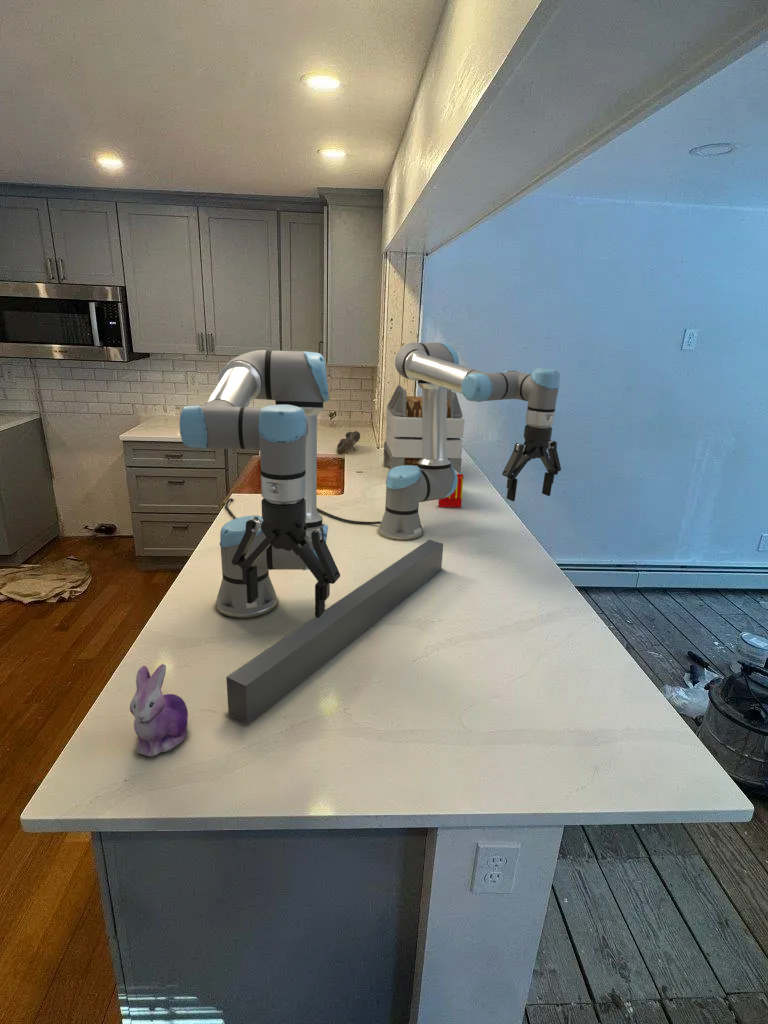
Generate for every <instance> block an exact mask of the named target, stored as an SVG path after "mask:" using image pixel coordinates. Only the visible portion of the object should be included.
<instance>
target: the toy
mask: <svg viewBox="0 0 768 1024" xmlns="http://www.w3.org/2000/svg"><path fill="white" fill-rule="evenodd" d="M455 473H457V486H456V489H455V491H454V492H453V493H452V494H451V495H450V496H448V497H445V498H442V499H438V508H462V502H463V501H462V500H463V490H464V474H463V473H461V474H459V473H458V472H457V471H456V470H455Z"/></svg>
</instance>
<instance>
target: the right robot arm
mask: <svg viewBox="0 0 768 1024" xmlns="http://www.w3.org/2000/svg"><path fill="white" fill-rule="evenodd" d="M394 357H395V358H394V367H395V370H396V371H397V373H398V374H399V375H400V376H401V377H403V378H404V379H408V380H410V381H414V382H415V381H416V382H417V385H418V386H419V387H420V388H421V397H422V459H421V460H420V461H419V462H418V466H413V465H403V466H397V467H394V468H392V469H391V470H390V469H389V470H388V472H387V475H386V479H385V504H384V505H385V507H384V508H385V509H384V513H383V515H382V519H381V520H380V521H379V520H378V521H377V520H376V521H364V520H363V521H361V520H352V519H346V518H343V517H339V516H337V515H334V514H331V513H329V512H328V511H327V512H326V511H325V510H322V509H320V508H318V507H317V512H318V513H321V514H323V515H325V516H328V517H330V518H333V519H335V520H338V521H341V522H345V523H350V524H358V525H378V533H379V534H380V535H381V536H382V537H385V538H387V539H389V540H395V541H410V540H415V539H418V538H420V537H421V536H422V535H423V525H422V524H421V518H420V515H419V507H420V506H419V505H420V503H424V502H429V501H435V500H439V499H442V498H445V497H448V496H450V495H451V494H452V493H453V492H454V491H455V489H456V486H457V473H455V469H454V468H453V467H452V466H451V462H450V461H449V460H448V459H447V457H446V452H447V389H449V390H451V391H452V392H453V391H454V392H455V393H458V394H461V395H463V397H464V399H465V400H467V401H469V402H477V403H482V402H488V401H489V402H490V401H502V400H519V401H525V402H527V407H526V408H527V409H526V415H525V424H526V425H525V426H524V430H523V438H524V442H523V443H519V442H515V444H514V447H513V451H512V453H511V455H510V456H509V459H508V461H507V463H506V465H505V467H504V469H503V471H502V473H501V475H502V476H503V477H505V478H507V481H506V489H507V492H506V499H507V500H509V501H511V502H516V496H517V495H516V494H517V487H518V480H519V479H517V477H518V475H519V474H520V473H521V471H522V470H523V469H524V468H525V466H526V465H527V463H528V462H530V461H531V460H535V459H540V461H541V462H542V464H543V465H544V468H545V470H546V472H544V476H543V482H542V490H541V494H543V495H545V496H547V497H550V496H551V494H552V493H551V492H552V487H553V484H554V480H555V476H558V474H559V472H561V471H562V467H561V462H560V458H559V454H558V447H557V446H558V442H557V441H556V440H551V439H552V433H553V427H552V426H553V425H554V419H555V412H556V405H557V399H558V394H559V389H560V380H561V373H560V371H559V370H558V369H554V368H547V367H535V368H533V369H532V371H531V373H526V372H521V371H517V370H502V371H501V372H485V371H482V370H478V369H475V368H472V367H469V366H466V365H465V366H464V365H461V364H460V360H459V355H458V352H457V350H456V349H455V348H454V347H453V346H452V345H451V344H449V343H445V342H410V343H406V344H404V345H403V346H402V347H400V348H399V349H398V351H397V352H396V355H395V356H394Z"/></svg>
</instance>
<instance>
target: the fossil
mask: <svg viewBox="0 0 768 1024" xmlns="http://www.w3.org/2000/svg"><path fill="white" fill-rule="evenodd" d="M360 439H361V434H360V432H359V431H357V430H355V431H348V432H346V434H345V438H341V439H340V440H339V442H338V444H337V446H336V453H337V454H343V453H347V452H348V451H349V450H350V449H351V448H353V450H354V451H356V448H355V445H356V444H357V443H358V442H359V441H360Z"/></svg>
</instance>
